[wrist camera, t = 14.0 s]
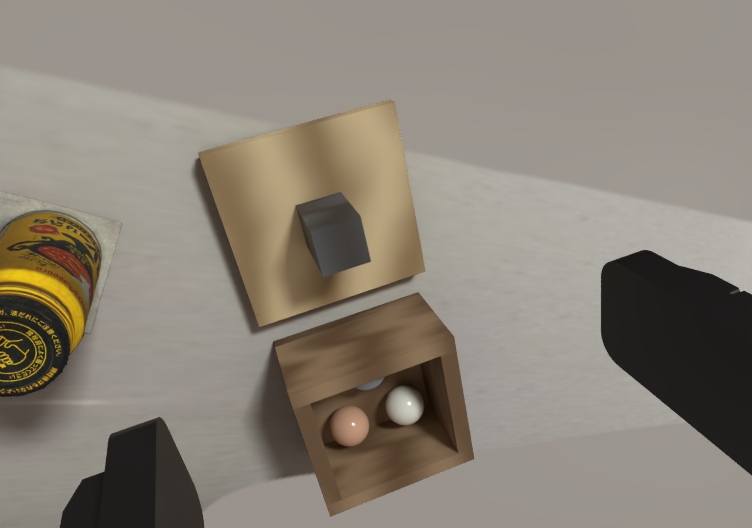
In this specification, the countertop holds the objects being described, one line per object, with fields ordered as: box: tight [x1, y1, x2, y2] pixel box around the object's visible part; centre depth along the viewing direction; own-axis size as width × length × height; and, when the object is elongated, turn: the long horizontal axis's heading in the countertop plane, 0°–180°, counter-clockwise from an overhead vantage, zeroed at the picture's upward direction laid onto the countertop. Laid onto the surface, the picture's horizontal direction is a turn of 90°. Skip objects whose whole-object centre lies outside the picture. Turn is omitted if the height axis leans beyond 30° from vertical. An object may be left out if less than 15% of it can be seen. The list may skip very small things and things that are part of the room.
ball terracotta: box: [330, 405, 369, 447], centre depth 48 cm, size 3×3×3 cm
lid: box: [198, 99, 425, 327], centre depth 39 cm, size 13×13×7 cm
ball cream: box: [385, 385, 424, 425], centre depth 48 cm, size 3×3×3 cm
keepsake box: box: [274, 293, 474, 516], centre depth 46 cm, size 12×12×7 cm
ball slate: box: [355, 377, 384, 390], centre depth 46 cm, size 3×3×3 cm
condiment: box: [0, 191, 122, 397], centre depth 33 cm, size 7×8×12 cm
